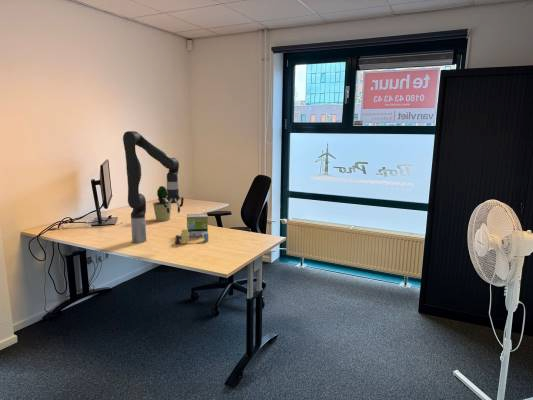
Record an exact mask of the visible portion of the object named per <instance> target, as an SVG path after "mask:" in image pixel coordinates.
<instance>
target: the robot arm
mask: <svg viewBox="0 0 533 400" xmlns="http://www.w3.org/2000/svg"><path fill="white" fill-rule="evenodd" d="M122 141H123V143H122V144H123V147H124V148H123V149H124V152H125V153H124V154H125V163H126V165H125V166H126V176H127V204H128V206H129V207H130V208H131V209H132V212H131V213H130V220H131V221H130V222H131V240H132V241H131V242H132V244H139V243H144V242H145V243H146V242H147V227H146V226H147V225H146V211H147V206H146V205H147V202H146V200H147V199H146V197H145V196H144V194H142V193H139V191H140V190H139V189H140V188H139V186H140V182H141V179H142V165H141V162H140V160H139V157H138V155H137V153H136V146H137V147H140V148H141V149H143V150H144V151H145V152H146V153H147V154H148V155H149V156H150V157H151V158H153V159H154V160H155V161H157V162H158V163H160V165H162V166H163V167H164V168H165V169H167V170H168V172H167V173H166V190H167V198H163V204H164V207H166V208H167V213H169V206H170V204H171V203H172V204H175V205H176V206H177V213H178V214H179V213H180V212H181V207H183V205H184V197H183V196H179V195H180V193H179V192H180V191H179V189H180V188H179V182H178V181H179V179H178V174H179V168H180V164H179V160H178V159H177V158H176V157H169V156H167V153H165V152H164V151H163V150H162V149H160V148H159V147H157V146H155V145H153V143H151V142H150V141H148V140H147V139H146V138H145V137H144V136H143V135H142V134H141V133H139V132H138V131H135V130H128V131H125V132H124V133H123V136H122ZM179 200H180V203H179ZM165 201H166V202H168V205H166V204H165Z"/></svg>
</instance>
